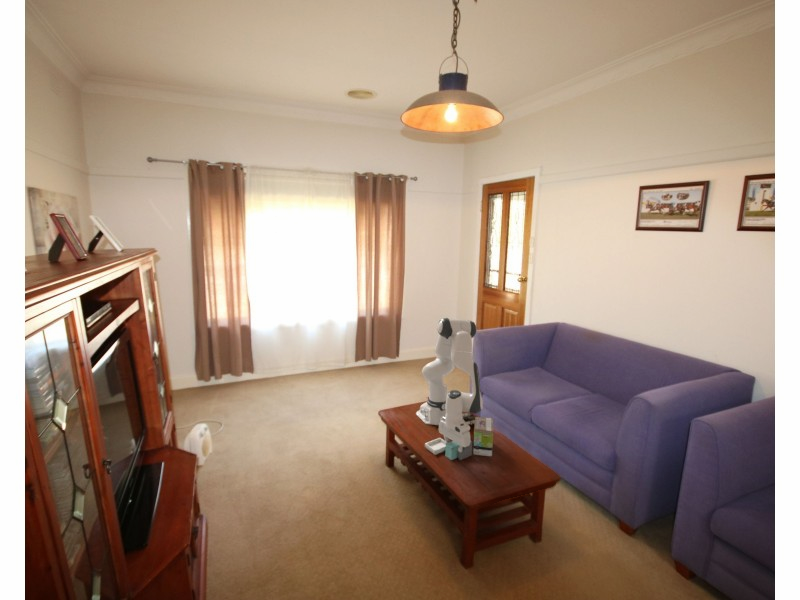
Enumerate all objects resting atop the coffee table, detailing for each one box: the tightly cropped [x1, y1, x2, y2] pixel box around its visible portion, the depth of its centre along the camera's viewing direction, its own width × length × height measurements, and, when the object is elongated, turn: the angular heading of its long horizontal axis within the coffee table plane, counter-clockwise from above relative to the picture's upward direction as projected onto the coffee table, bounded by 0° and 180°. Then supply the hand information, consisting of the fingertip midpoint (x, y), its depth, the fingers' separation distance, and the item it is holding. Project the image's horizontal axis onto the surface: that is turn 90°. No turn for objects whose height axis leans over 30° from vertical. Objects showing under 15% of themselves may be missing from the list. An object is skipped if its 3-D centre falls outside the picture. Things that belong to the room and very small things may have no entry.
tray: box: [424, 437, 446, 455], centre depth 215 cm, size 9×11×2 cm
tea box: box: [472, 416, 495, 457], centre depth 214 cm, size 15×10×15 cm, turn 168°
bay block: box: [458, 439, 473, 461], centre depth 210 cm, size 10×8×8 cm
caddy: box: [444, 440, 463, 461], centre depth 208 cm, size 5×8×7 cm, turn 125°
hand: (453, 447), depth 205 cm, fingers open, 8 cm apart
